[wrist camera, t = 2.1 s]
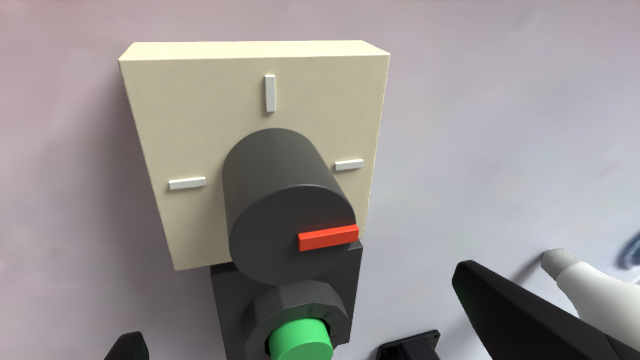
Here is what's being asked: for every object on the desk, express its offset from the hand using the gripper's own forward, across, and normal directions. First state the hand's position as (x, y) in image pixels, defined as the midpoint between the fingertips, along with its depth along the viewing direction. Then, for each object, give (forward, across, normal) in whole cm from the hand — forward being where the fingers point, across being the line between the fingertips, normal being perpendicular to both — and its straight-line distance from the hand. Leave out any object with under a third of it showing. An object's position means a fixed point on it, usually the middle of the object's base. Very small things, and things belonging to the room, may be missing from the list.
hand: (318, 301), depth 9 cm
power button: (+6, -1, +11) cm, 13 cm away
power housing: (+10, -1, +11) cm, 15 cm away
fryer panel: (+10, 0, 0) cm, 10 cm away
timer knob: (+7, 0, 0) cm, 7 cm away
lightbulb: (+10, -26, +14) cm, 31 cm away
